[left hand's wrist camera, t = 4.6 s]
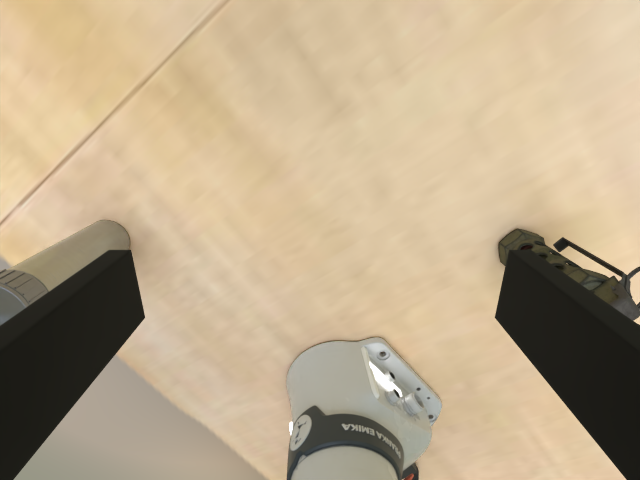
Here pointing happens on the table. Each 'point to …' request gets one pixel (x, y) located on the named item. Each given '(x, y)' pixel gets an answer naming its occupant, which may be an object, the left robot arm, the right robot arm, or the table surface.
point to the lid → (17, 292)
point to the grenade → (577, 269)
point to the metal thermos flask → (74, 253)
